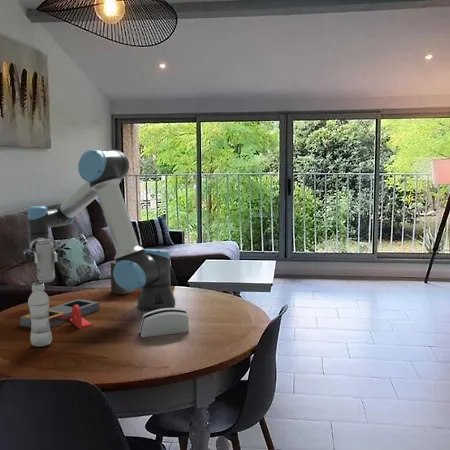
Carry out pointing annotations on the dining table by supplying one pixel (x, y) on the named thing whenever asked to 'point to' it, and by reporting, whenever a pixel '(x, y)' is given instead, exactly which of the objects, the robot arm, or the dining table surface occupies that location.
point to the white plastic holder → (164, 322)
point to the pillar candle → (114, 286)
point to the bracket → (78, 318)
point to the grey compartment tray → (64, 312)
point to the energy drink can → (45, 260)
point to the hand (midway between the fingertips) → (46, 258)
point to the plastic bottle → (39, 316)
